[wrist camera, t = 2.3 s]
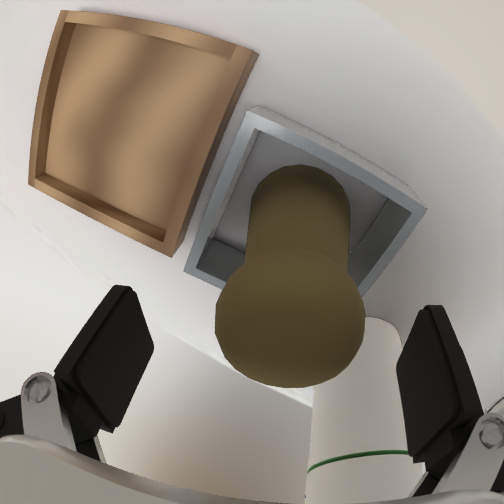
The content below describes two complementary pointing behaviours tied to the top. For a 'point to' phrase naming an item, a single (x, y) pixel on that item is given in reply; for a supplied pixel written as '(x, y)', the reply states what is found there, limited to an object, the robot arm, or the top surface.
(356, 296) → the cork
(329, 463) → the cylindrical container
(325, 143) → the grey square frame
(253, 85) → the top surface
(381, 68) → the top surface
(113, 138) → the tray
